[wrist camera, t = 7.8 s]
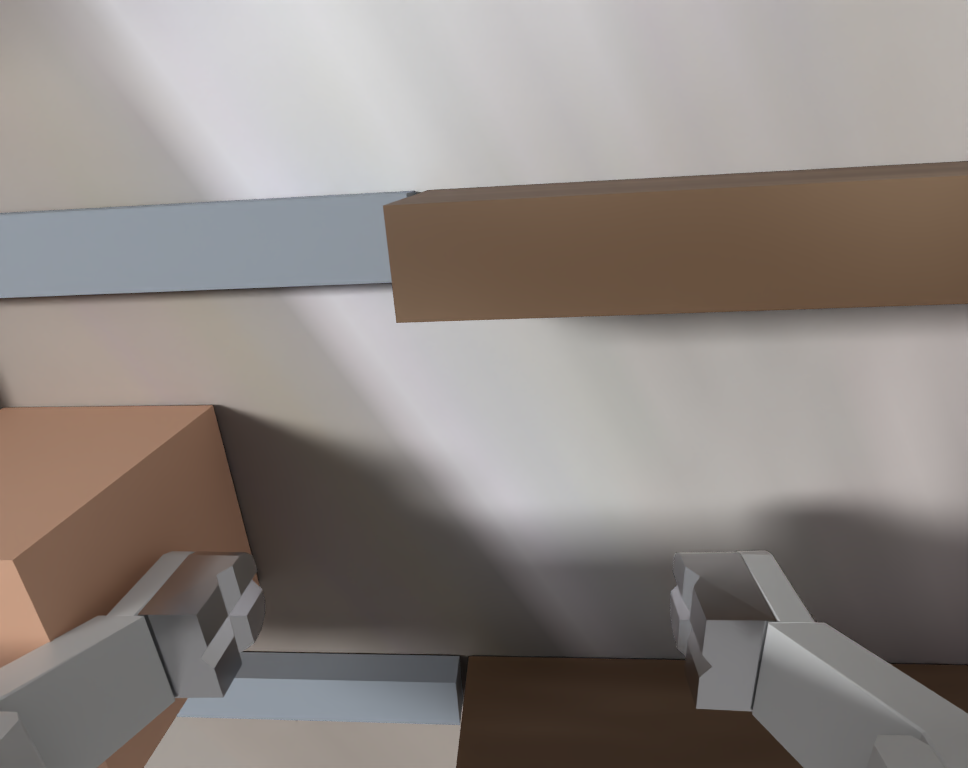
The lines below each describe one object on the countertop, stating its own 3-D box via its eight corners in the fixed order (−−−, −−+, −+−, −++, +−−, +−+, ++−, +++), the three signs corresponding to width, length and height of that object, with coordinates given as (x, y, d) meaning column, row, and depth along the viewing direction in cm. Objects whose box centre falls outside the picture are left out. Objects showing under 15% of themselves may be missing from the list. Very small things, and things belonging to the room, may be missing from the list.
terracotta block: (3, 407, 12) (-307, 554, 8) (212, 405, 12) (12, 560, 7) (76, 582, 14) (-140, 782, 10) (259, 586, 14) (122, 800, 9)
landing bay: (-151, 221, 11) (-200, 226, 10) (415, 190, 10) (406, 193, 9) (68, 687, 16) (45, 713, 15) (463, 696, 15) (459, 724, 14)
